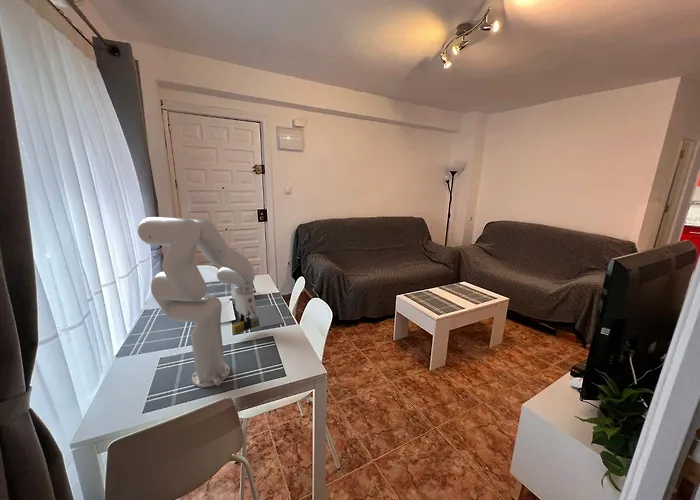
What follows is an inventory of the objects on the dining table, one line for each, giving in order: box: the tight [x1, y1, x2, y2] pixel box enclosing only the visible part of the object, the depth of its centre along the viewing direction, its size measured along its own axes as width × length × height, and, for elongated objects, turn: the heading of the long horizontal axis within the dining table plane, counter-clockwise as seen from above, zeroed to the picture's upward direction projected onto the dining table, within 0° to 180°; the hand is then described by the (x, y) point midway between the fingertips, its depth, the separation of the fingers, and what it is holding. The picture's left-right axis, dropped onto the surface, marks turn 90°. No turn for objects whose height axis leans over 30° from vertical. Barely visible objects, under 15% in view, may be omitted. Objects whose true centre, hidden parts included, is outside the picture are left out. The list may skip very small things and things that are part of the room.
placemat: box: [255, 304, 284, 329], centre depth 147 cm, size 22×11×1 cm, turn 27°
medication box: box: [231, 316, 260, 336], centre depth 126 cm, size 12×3×4 cm, turn 139°
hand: (245, 327), depth 127 cm, fingers closed on medication box, 2 cm apart
